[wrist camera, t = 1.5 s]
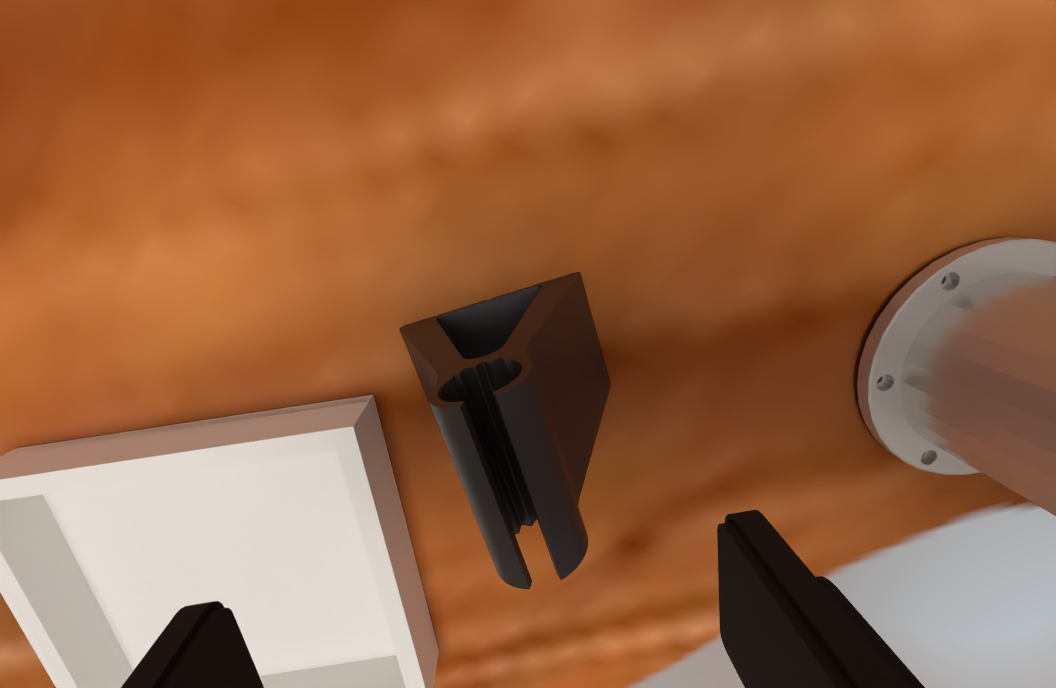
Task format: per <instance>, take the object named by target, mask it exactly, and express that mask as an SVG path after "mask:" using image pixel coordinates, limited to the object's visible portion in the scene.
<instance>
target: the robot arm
mask: <svg viewBox="0 0 1056 688" xmlns="http://www.w3.org/2000/svg"><path fill="white" fill-rule="evenodd" d="M857 390H858V402H859V407H860V410H861V413H862V416H863V419H864V422H865V424H866V425H867V427H868V429H869V430H870V432H871V433H872V435H873V437H874V438H875V439H876V440H877V441H878V442H879V443H880V444H881V445H882V446H883V447H884V448H885V449H886V450H887V451H889V452H891V453H892V454H894V455H895V456H897V457H898V458H900V459H901V460H902V461H904V462H905V463H907V464H909V465H911V466H913V467H916V468H918V469H920V470H923V471H927V472H932V473H937V474H942V475H967V474H973V473H980V472H981V473H983V474H985V475H987V476H988V477H990V478H992V479H993V480H995V481H997V482H999V483H1000V484H1002V485H1004V486H1005V487H1007V488H1009V489H1011V490H1012V491H1014V492H1016V493H1017V494H1019V495H1021V496H1023V497H1024V498H1026V499H1028V500H1029V501H1031V502H1033V503H1035V504H1036V505H1038V506H1040V507H1041V508H1043V509H1045V510H1047V511H1048V512H1050V513H1052V514H1053V515H1055V516H1056V242H1053V241H1046V240H1040V239H1031V238H1011V237H1005V238H998V239H991V240H985V241H980V242H977V243H974V244H971V245H968V246H965V247H962V248H959V249H957V250H955V251H953V252H951V253H949V254H947V255H946V256H944V257H942V258H940V259H938V260H936V261H934V262H933V263H931V264H930V265H929V266H927V267H926V268H925V269H923V270H922V271H921V272H919V273H918V274H917V275H915V276H914V277H913V278H911V279H910V280H909V281H908V282H907V283H906V285H905V286H904V287H903V288H902V289H901V290H900V291H899V292H898V293H897V294H896V295H895V296H894V297H893V298H892V299H891V301H890V302H889V303H888V305H887V306H886V307H885V309H884V310H883V312H882V313H881V314H880V316H879V317H878V319H877V321H876V322H875V324H874V326H873V328H872V330H871V332H870V334H869V336H868V338H867V340H866V343H865V346H864V350H863V353H862V356H861V359H860V362H859V371H858V379H857ZM717 533H718V572H719V610H720V633H721V638H722V641H723V644H724V647H725V649H726V652H727V654H728V656H729V657H730V659H731V661H732V663H733V665H734V667H735V669H736V671H737V673H738V675H739V677H740V679H741V681H742V683H743V684H744V687H745V688H925V687H924V686H923V685H922V684H921V683H920V682H919V680H918V679H917V678H916V677H915V676H914V675H913V674H912V673H911V671H910V670H909V669H908V668H907V667H906V666H905V664H904V663H903V662H902V661H901V660H900V659H899V658H898V657H897V655H896V654H895V653H894V652H893V651H892V650H891V648H890V647H889V646H888V645H887V644H886V643H885V642H884V641H883V639H882V638H881V637H880V636H879V635H878V634H877V633H876V631H875V630H874V629H873V628H872V627H871V626H870V625H869V624H868V622H867V621H866V620H865V619H864V618H863V617H862V615H861V614H860V613H859V612H858V611H857V610H856V609H855V608H854V606H853V605H852V604H851V603H850V602H849V601H848V599H847V598H846V597H845V596H844V595H843V594H842V593H841V592H840V590H839V589H838V588H837V587H836V586H835V585H834V584H833V583H832V582H831V581H830V580H828V579H826V578H824V577H822V576H821V577H815V576H814V575H813V574H812V572H811V571H810V570H809V569H808V568H807V567H806V565H805V564H804V563H803V562H802V561H801V559H800V558H799V557H798V556H797V555H796V554H795V552H794V551H793V550H792V549H791V548H790V546H789V545H788V544H787V543H786V542H785V540H784V539H783V538H782V537H781V536H780V535H779V533H778V532H777V531H776V530H775V529H774V527H773V526H772V525H771V524H770V523H769V522H768V520H767V519H766V518H765V517H764V516H763V514H762V513H760V512H759V511H757V510H751V511H745V512H740V513H734V514H728V515H727V516H726V518H725V523H723V524H719V525H718V530H717ZM121 688H264V686H263V684H262V681H261V679H260V676H259V674H258V672H257V669H256V667H255V664H254V662H253V660H252V657H251V655H250V652H249V650H248V648H247V645H246V643H245V640H244V638H243V636H242V633H241V631H240V628H239V626H238V624H237V621H236V619H235V616H234V614H233V612H232V610H231V609H229V608H225V607H224V606H223V604H222V603H221V602H219V601H213V602H207V603H201V604H195V605H189V606H185V607H183V608H181V609H180V610H179V611H178V612H177V613H176V614H175V615H174V617H173V618H172V620H171V621H170V622H169V624H168V625H167V626H166V628H165V629H164V630H163V632H162V633H161V634H160V636H159V637H158V638H157V640H156V641H155V642H154V644H153V645H152V646H151V648H150V649H149V650H148V652H147V653H146V654H145V656H144V657H143V658H142V660H141V661H140V663H139V664H138V665H137V667H136V668H135V669H134V671H133V672H132V673H131V675H130V676H129V677H128V679H127V680H126V681H125V683H124V684H123V685H122V687H121Z"/></svg>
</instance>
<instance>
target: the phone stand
mask: <svg viewBox="0 0 1056 688" xmlns="http://www.w3.org/2000/svg"><path fill="white" fill-rule="evenodd" d="M400 332H401V334H402V337H403V339H404V342H405V344H406V347H407V349H408V352H409V354H410V357H411V359H412V362H413V364H414V367H415V369H416V372H417V374H418V377H419V379H420V382H421V384H422V387H423V389H424V392H425V394H426V396H427V399H428V401H429V404H430V406H431V409H432V411H433V414H434V416H435V419H436V421H437V424H438V426H439V429H440V431H441V434H442V436H443V438H444V441H445V443H446V446H447V448H448V451H449V453H450V456H451V458H452V461H453V463H454V466H455V468H456V471H457V473H458V475H459V478H460V480H461V483H462V485H463V488H464V490H465V493H466V495H467V498H468V500H469V503H470V505H471V508H472V510H473V513H474V515H475V518H476V520H477V523H478V525H479V528H480V530H481V533H482V535H483V538H484V540H485V543H486V545H487V548H488V550H489V552H490V555H491V557H492V560H493V562H494V565H495V567H496V570H497V572H498V574H499V576H500V577H501V579H502V580H503V581H505V582H506V583H507V584H509V585H511V586H513V587H517V588H521V589H530V586H531V583H532V579H531V577H530V574H529V571H528V569H527V566H526V564H525V561H524V558H523V556H522V553H521V550H520V548H519V545H518V542H517V540H516V537H515V534H519V532H520V528H521V525H527V526H532V525H533V523H534V522H535V521H536V520H537V519H538V522H539V525H540V528H541V531H542V534H543V536H544V539H545V542H546V545H547V548H548V550H549V553H550V556H551V559H552V562H553V564H554V567H555V570H556V573H557V575H558V576H559V578H560V580H562V579H564V578H565V577H567V576H568V575H569V574H570V573H572V572H573V571H574V570H575V569H576V568H577V567H578V565H579V564H580V563H581V561H582V560H583V558H584V556H585V554H586V551H587V547H588V536H587V533H586V530H585V527H584V524H583V520H582V517H581V514H580V511H579V508H578V503H579V497H580V493H581V490H582V486H583V483H584V479H585V475H586V472H587V468H588V465H589V461H590V457H591V454H592V450H593V447H594V443H595V439H596V436H597V432H598V429H599V425H600V421H601V418H602V414H603V411H604V407H605V403H606V400H607V396H608V393H609V389H610V381H609V377H608V374H607V370H606V366H605V363H604V359H603V355H602V352H601V348H600V344H599V341H598V337H597V333H596V330H595V326H594V322H593V319H592V315H591V311H590V308H589V304H588V300H587V297H586V293H585V289H584V286H583V282H582V278H581V275H580V272H576V273H572V274H569V275H565V276H562V277H559V278H556V279H553V280H549V281H546V282H543V283H540V284H536V285H533V286H530V287H527V288H524V289H520V290H517V291H514V292H511V293H508V294H504V295H501V296H498V297H495V298H493V299H491V300H487V301H486V300H485V301H482V302H479V303H475V304H472V305H469V306H466V307H463V308H459V309H456V310H453V311H450V312H447V313H443V314H440V315H437V316H434V317H431V318H427V319H424V320H421V321H418V322H414V323H411V324H408V325H405V326H403V327H401V328H400Z"/></svg>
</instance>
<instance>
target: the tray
mask: <svg viewBox="0 0 1056 688" xmlns="http://www.w3.org/2000/svg"><path fill="white" fill-rule="evenodd" d="M0 592H1V594H2V596H3V598H4V599H5V601H6V603H7V604H8V606H9V608H10V610H11V611H12V613H13V615H14V616H15V618H16V620H17V621H18V623H19V625H20V627H21V628H22V630H23V632H24V633H25V635H26V637H27V639H28V640H29V642H30V644H31V645H32V647H33V649H34V651H35V652H36V654H37V656H38V657H39V659H40V661H41V662H42V664H43V666H44V668H45V669H46V671H47V673H48V674H49V676H50V678H51V680H52V681H53V683H54V685H55V686H56V688H121V687H122V685H123V684H124V683H125V681H126V680H127V679H128V677H129V676H130V675H131V673H132V672H133V671H134V669H135V668H136V667H137V665H138V664H139V663H140V661H141V660H142V658H143V657H144V656H145V654H146V653H147V652H148V650H149V649H150V648H151V646H152V645H153V644H154V642H155V641H156V640H157V638H158V637H159V636H160V634H161V633H162V632H163V630H164V629H165V628H166V626H167V625H168V624H169V622H170V621H171V620H172V618H173V617H174V615H175V614H176V613H177V612H178V611H179V610H180V609H181V608H183V607H185V606H189V605H195V604H201V603H207V602H213V601H219V602H221V603H222V604H223V606H224V607H225V608H229V609H231V610H232V612H233V614H234V616H235V619H236V621H237V624H238V626H239V628H240V631H241V633H242V636H243V638H244V640H245V643H246V645H247V648H248V650H249V652H250V655H251V657H252V660H253V662H254V664H255V667H256V669H257V672H258V674H259V676H260V679H261V681H262V684H263V686H264V688H434V682H435V675H436V667H437V660H438V653H439V649H438V645H437V641H436V637H435V633H434V629H433V625H432V622H431V618H430V614H429V610H428V606H427V602H426V598H425V594H424V590H423V586H422V583H421V579H420V575H419V571H418V567H417V563H416V559H415V555H414V551H413V547H412V544H411V540H410V536H409V532H408V528H407V524H406V520H405V516H404V512H403V509H402V505H401V501H400V497H399V493H398V489H397V485H396V481H395V477H394V473H393V470H392V466H391V462H390V458H389V454H388V450H387V446H386V442H385V438H384V435H383V431H382V427H381V423H380V419H379V415H378V411H377V407H376V403H375V399H374V396H373V395H367V396H361V397H354V398H347V399H341V400H334V401H327V402H321V403H314V404H307V405H301V406H294V407H287V408H281V409H274V410H267V411H261V412H254V413H247V414H241V415H234V416H228V417H221V418H214V419H208V420H201V421H194V422H188V423H181V424H174V425H168V426H161V427H154V428H148V429H141V430H134V431H128V432H121V433H114V434H108V435H101V436H94V437H88V438H81V439H75V440H68V441H61V442H55V443H48V444H41V445H35V446H28V447H21V448H16V449H14V450H12V451H10V452H8V453H6V454H5V455H3V456H1V457H0Z"/></svg>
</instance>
